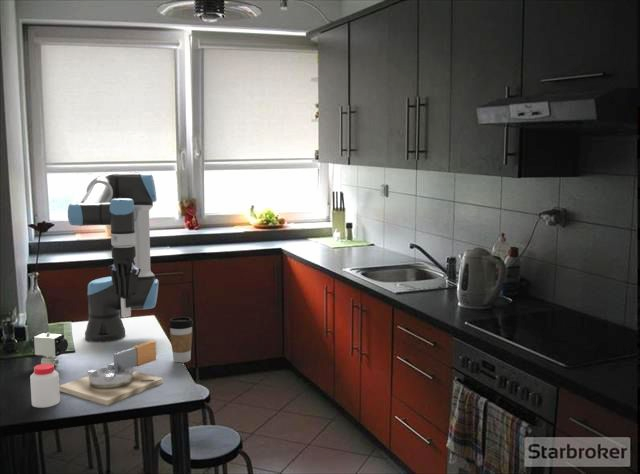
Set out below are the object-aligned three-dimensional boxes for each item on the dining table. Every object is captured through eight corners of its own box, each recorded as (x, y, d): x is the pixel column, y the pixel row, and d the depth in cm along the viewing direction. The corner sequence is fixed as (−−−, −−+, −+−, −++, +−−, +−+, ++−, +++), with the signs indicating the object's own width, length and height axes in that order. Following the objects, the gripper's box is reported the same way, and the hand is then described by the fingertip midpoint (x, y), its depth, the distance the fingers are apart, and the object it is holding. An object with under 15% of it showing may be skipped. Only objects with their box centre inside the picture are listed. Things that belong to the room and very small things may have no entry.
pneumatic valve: (61, 370, 222) (59, 335, 220) (30, 367, 224) (28, 333, 223) (70, 364, 227) (69, 331, 226) (40, 362, 230) (38, 329, 228)
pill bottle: (59, 406, 191) (57, 369, 190) (30, 409, 189) (27, 372, 188) (61, 396, 199) (59, 361, 197) (33, 399, 197) (31, 363, 195)
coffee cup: (164, 362, 230) (163, 320, 228) (178, 355, 238) (177, 314, 236) (185, 365, 227) (184, 322, 225) (198, 357, 235) (197, 316, 233)
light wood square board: (115, 370, 222) (115, 365, 222) (162, 382, 210) (162, 377, 210) (58, 390, 203) (58, 385, 203) (107, 405, 192) (106, 399, 192)
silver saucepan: (108, 391, 198) (107, 364, 197) (80, 383, 205) (79, 357, 203) (168, 368, 218) (167, 344, 217) (140, 361, 225) (139, 337, 224)
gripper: (100, 245, 216) (103, 316, 219) (128, 248, 209) (131, 321, 212) (118, 243, 222) (121, 311, 225) (146, 246, 215) (148, 316, 218)
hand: (126, 316), depth 219 cm, fingers closed
